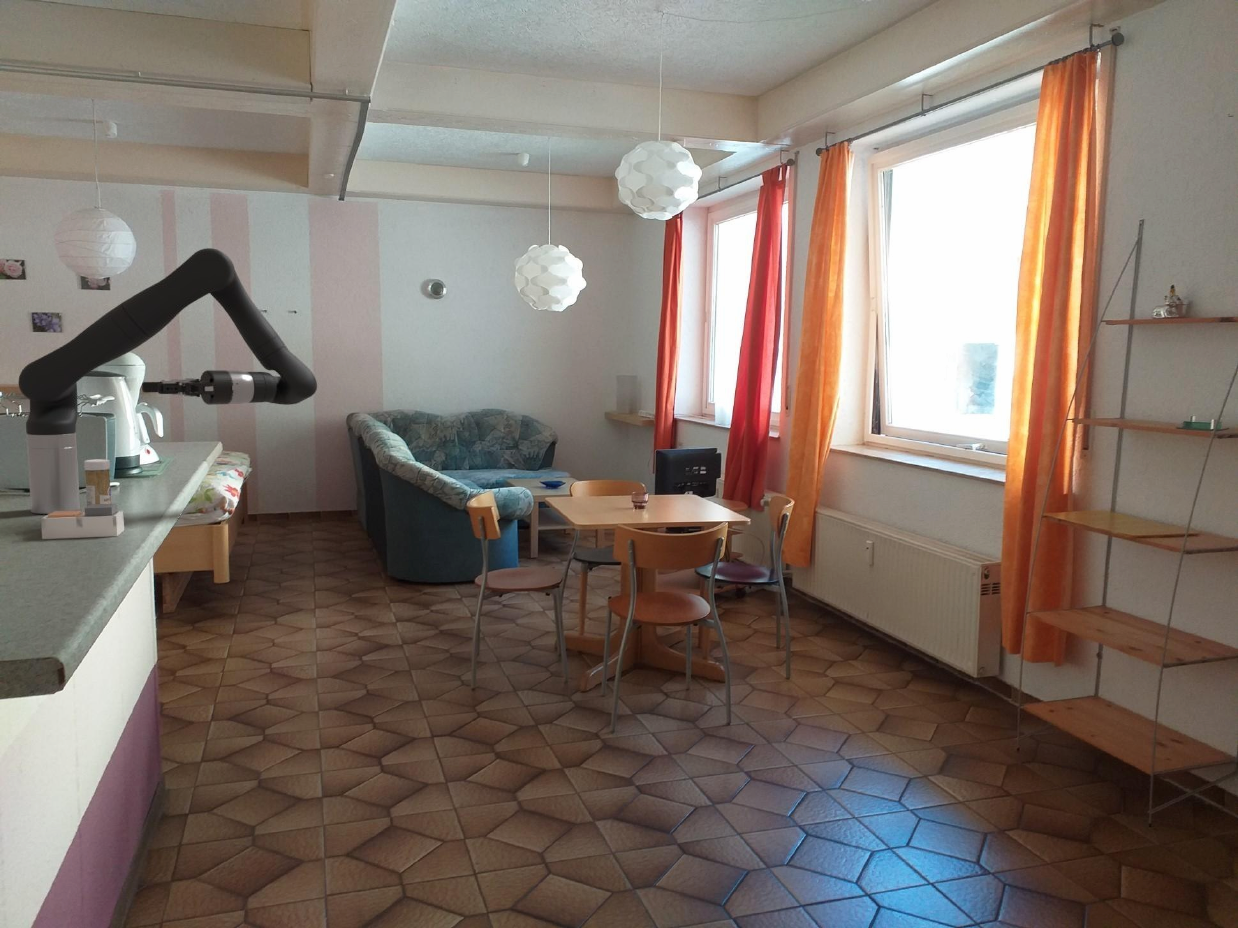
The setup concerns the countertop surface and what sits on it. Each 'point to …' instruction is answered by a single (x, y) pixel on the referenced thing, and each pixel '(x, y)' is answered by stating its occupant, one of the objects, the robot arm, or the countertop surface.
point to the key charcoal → (101, 510)
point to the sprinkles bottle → (97, 481)
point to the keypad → (82, 526)
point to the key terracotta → (64, 514)
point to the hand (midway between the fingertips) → (150, 387)
